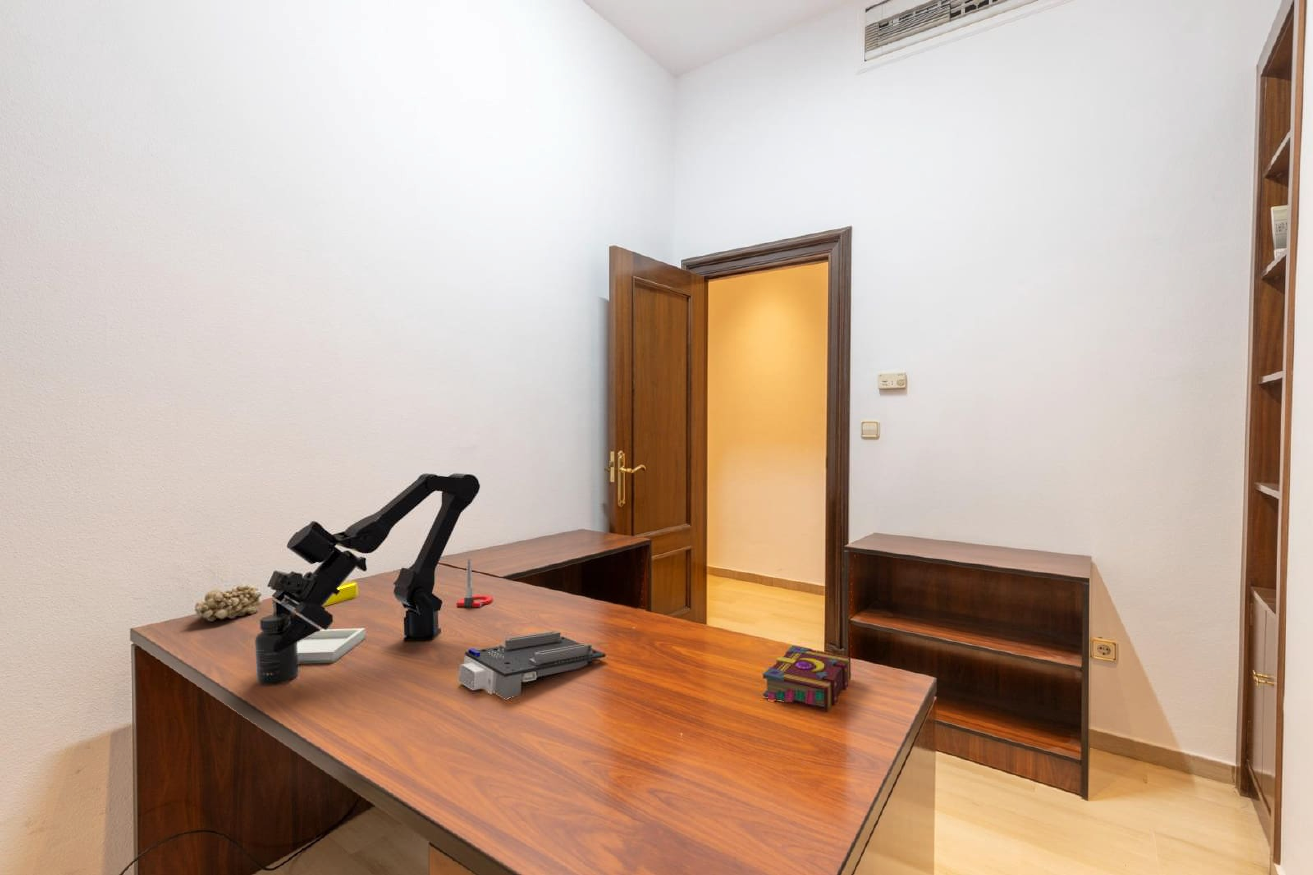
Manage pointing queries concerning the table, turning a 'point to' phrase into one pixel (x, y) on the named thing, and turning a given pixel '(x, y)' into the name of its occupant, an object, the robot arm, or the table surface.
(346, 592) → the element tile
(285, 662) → the supplement bottle
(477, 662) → the circuit board
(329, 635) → the ceramic tray
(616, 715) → the table surface
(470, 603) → the tow hook
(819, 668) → the decorative book
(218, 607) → the mineral formation
